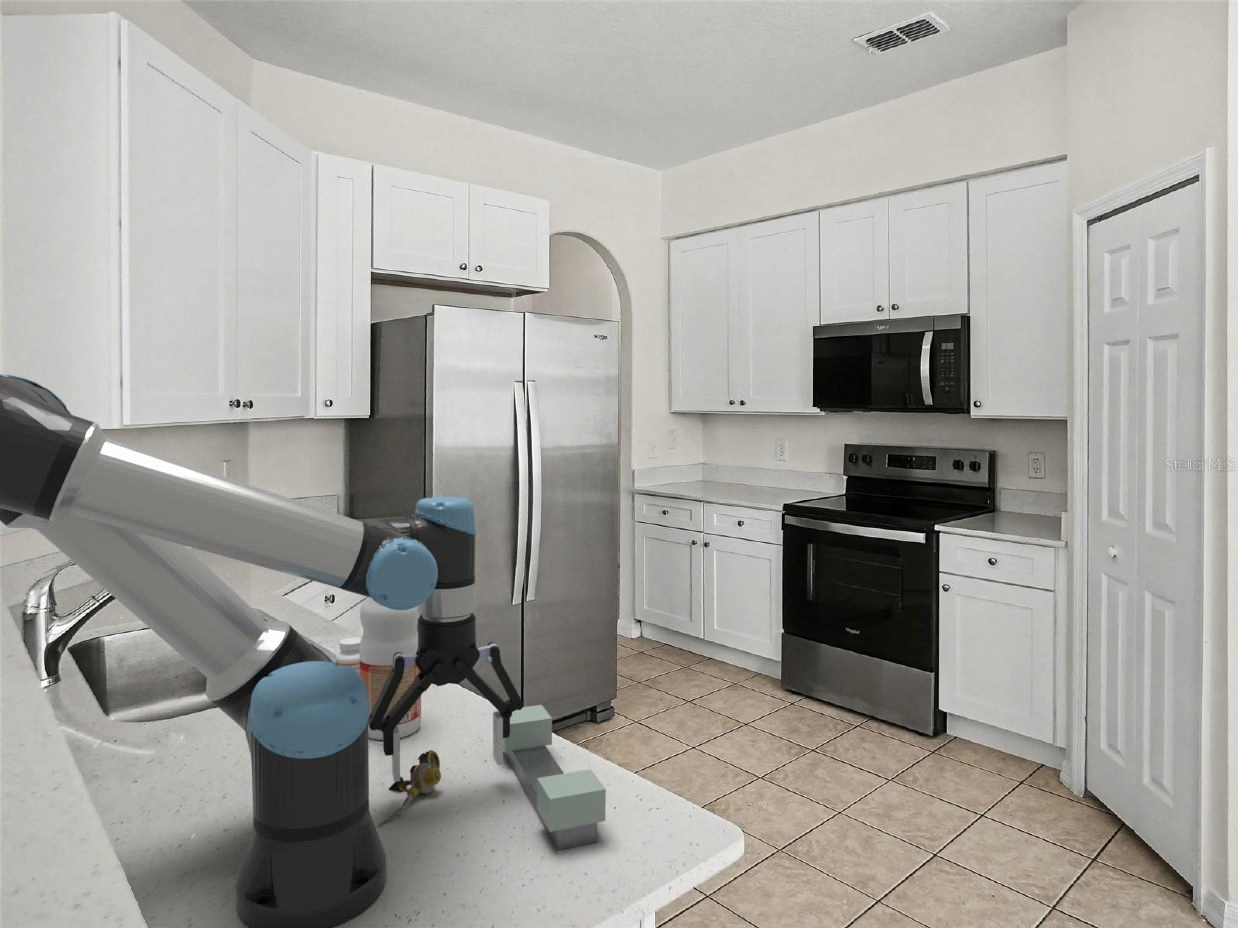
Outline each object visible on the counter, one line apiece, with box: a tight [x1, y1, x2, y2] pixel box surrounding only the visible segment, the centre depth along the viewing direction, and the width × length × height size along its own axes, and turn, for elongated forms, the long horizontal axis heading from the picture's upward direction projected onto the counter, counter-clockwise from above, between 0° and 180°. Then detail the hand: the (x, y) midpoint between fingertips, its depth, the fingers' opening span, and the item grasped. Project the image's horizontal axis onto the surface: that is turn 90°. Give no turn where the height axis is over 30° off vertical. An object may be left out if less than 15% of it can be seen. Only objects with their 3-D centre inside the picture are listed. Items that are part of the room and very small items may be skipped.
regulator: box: [376, 749, 442, 828], centre depth 106 cm, size 8×4×15 cm
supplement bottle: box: [335, 636, 362, 674], centre depth 142 cm, size 5×5×10 cm
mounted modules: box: [503, 704, 607, 832], centre depth 108 cm, size 7×28×4 cm, turn 21°
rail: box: [503, 745, 599, 851], centre depth 108 cm, size 5×28×2 cm, turn 21°
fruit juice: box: [359, 596, 422, 741], centre depth 127 cm, size 9×9×28 cm
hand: (448, 768), depth 107 cm, fingers open, 13 cm apart
